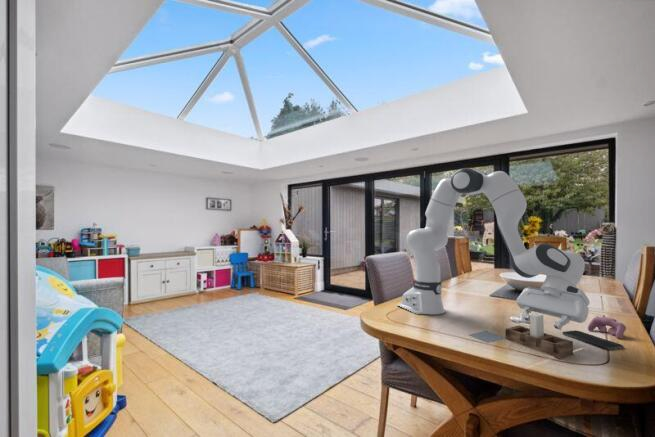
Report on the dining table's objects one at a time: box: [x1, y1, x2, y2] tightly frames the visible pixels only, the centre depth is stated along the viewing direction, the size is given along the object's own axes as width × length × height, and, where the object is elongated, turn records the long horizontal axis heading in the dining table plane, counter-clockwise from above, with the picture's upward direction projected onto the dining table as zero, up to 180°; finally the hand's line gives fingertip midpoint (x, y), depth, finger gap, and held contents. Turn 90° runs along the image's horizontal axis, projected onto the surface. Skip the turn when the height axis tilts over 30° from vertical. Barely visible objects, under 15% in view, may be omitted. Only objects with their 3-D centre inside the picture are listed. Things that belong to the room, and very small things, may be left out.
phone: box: [561, 330, 624, 351], centre depth 103 cm, size 8×1×15 cm
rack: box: [505, 325, 574, 360], centre depth 98 cm, size 17×8×4 cm, turn 26°
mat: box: [468, 330, 506, 344], centre depth 107 cm, size 8×10×1 cm
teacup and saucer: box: [509, 311, 530, 326], centre depth 124 cm, size 9×8×4 cm
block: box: [529, 313, 545, 338], centre depth 98 cm, size 2×4×9 cm, turn 115°
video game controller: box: [587, 316, 627, 340], centre depth 110 cm, size 10×5×7 cm, turn 23°
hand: (541, 323), depth 99 cm, fingers open, 8 cm apart
